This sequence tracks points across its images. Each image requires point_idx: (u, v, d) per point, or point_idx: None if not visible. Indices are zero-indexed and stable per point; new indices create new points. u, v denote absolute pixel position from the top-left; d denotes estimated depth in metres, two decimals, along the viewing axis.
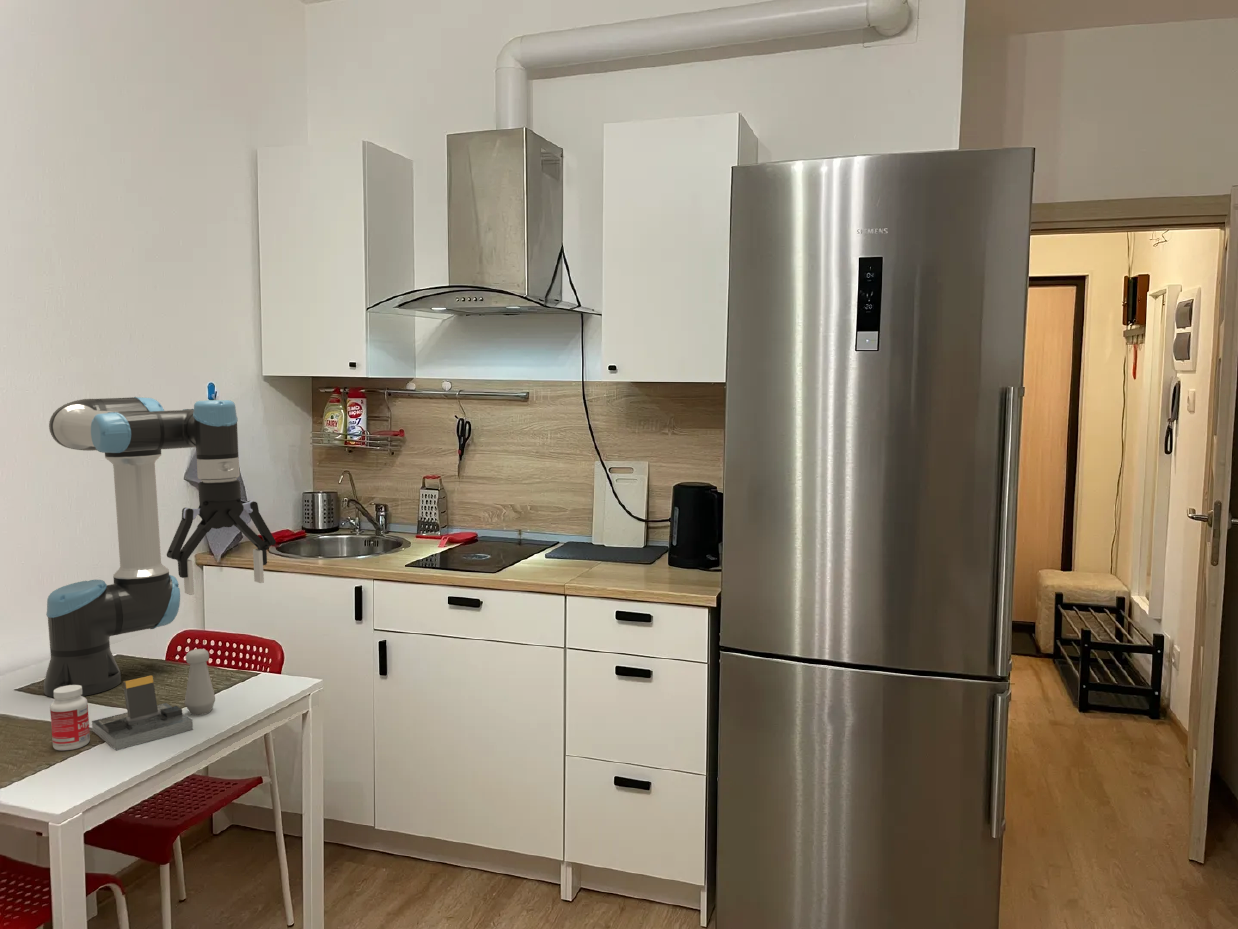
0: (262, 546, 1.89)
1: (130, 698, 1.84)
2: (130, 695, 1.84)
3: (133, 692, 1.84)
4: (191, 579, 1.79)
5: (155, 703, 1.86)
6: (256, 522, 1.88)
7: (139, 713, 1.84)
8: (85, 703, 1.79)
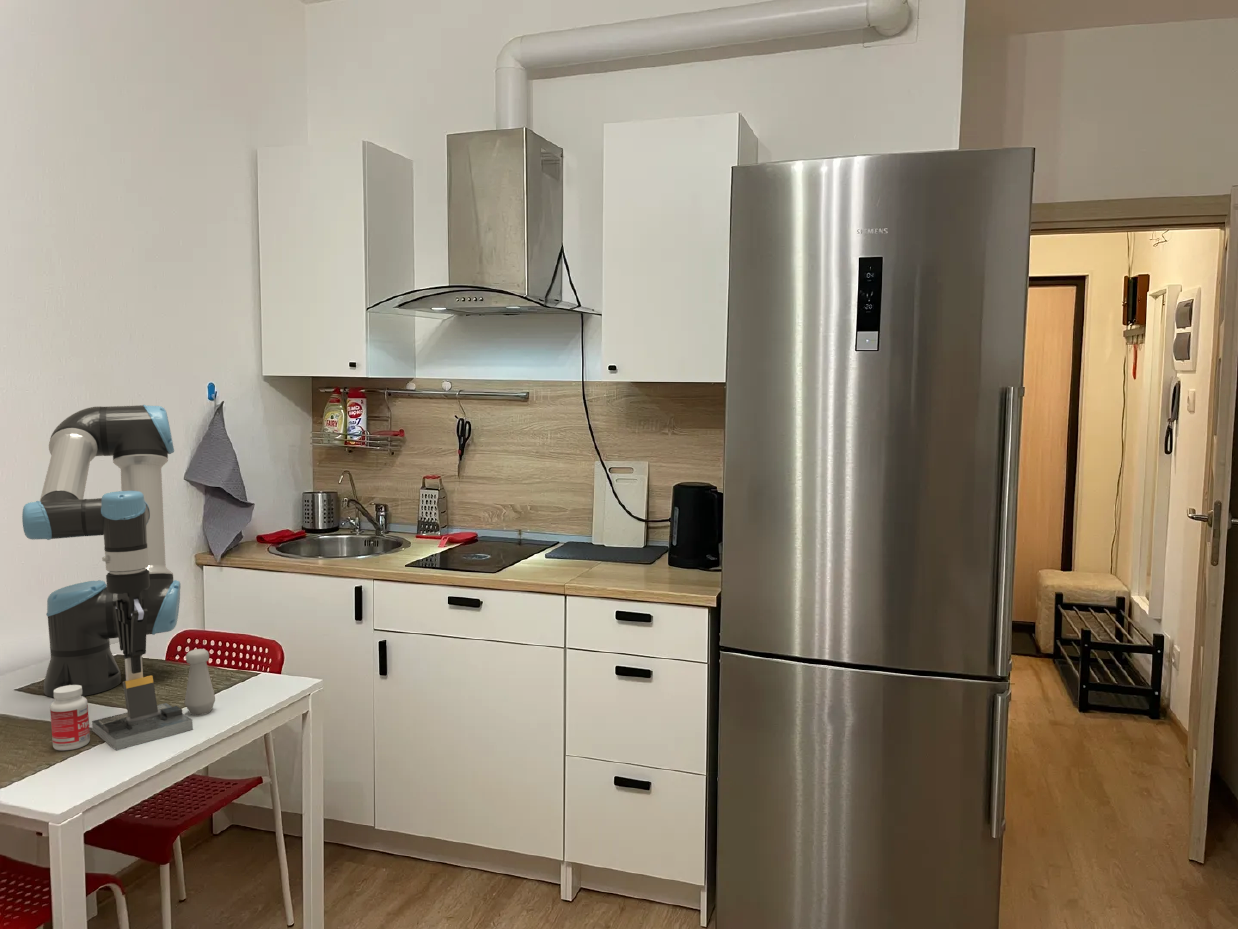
0: (127, 653, 1.85)
1: (130, 698, 1.84)
2: (130, 695, 1.84)
3: (133, 692, 1.84)
4: (126, 674, 1.86)
5: (155, 703, 1.86)
6: None
7: (139, 713, 1.84)
8: (85, 703, 1.79)
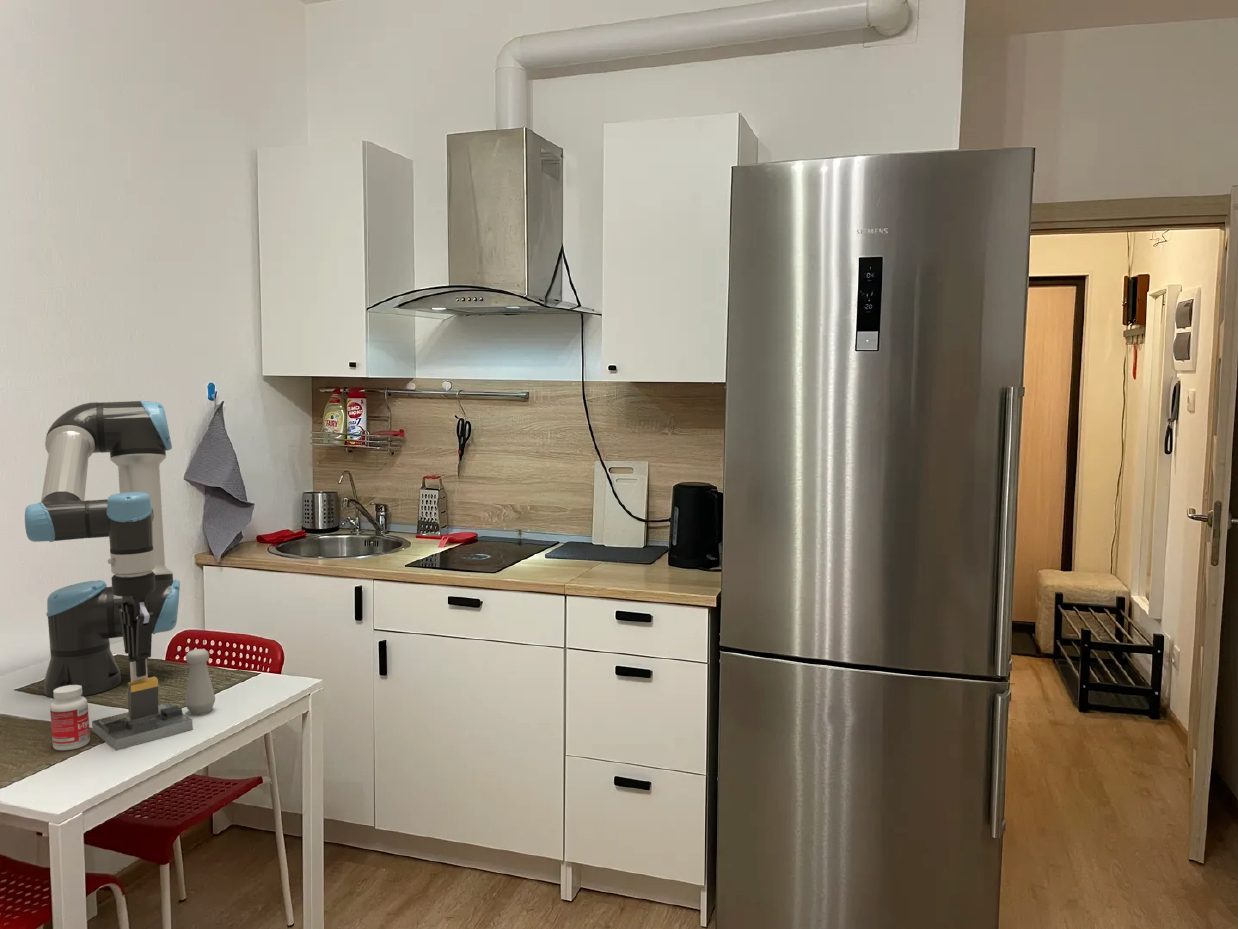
0: (132, 656, 1.83)
1: (133, 702, 1.82)
2: (134, 698, 1.82)
3: (137, 696, 1.83)
4: (131, 678, 1.84)
5: (157, 705, 1.86)
6: None
7: (140, 715, 1.84)
8: (85, 703, 1.79)
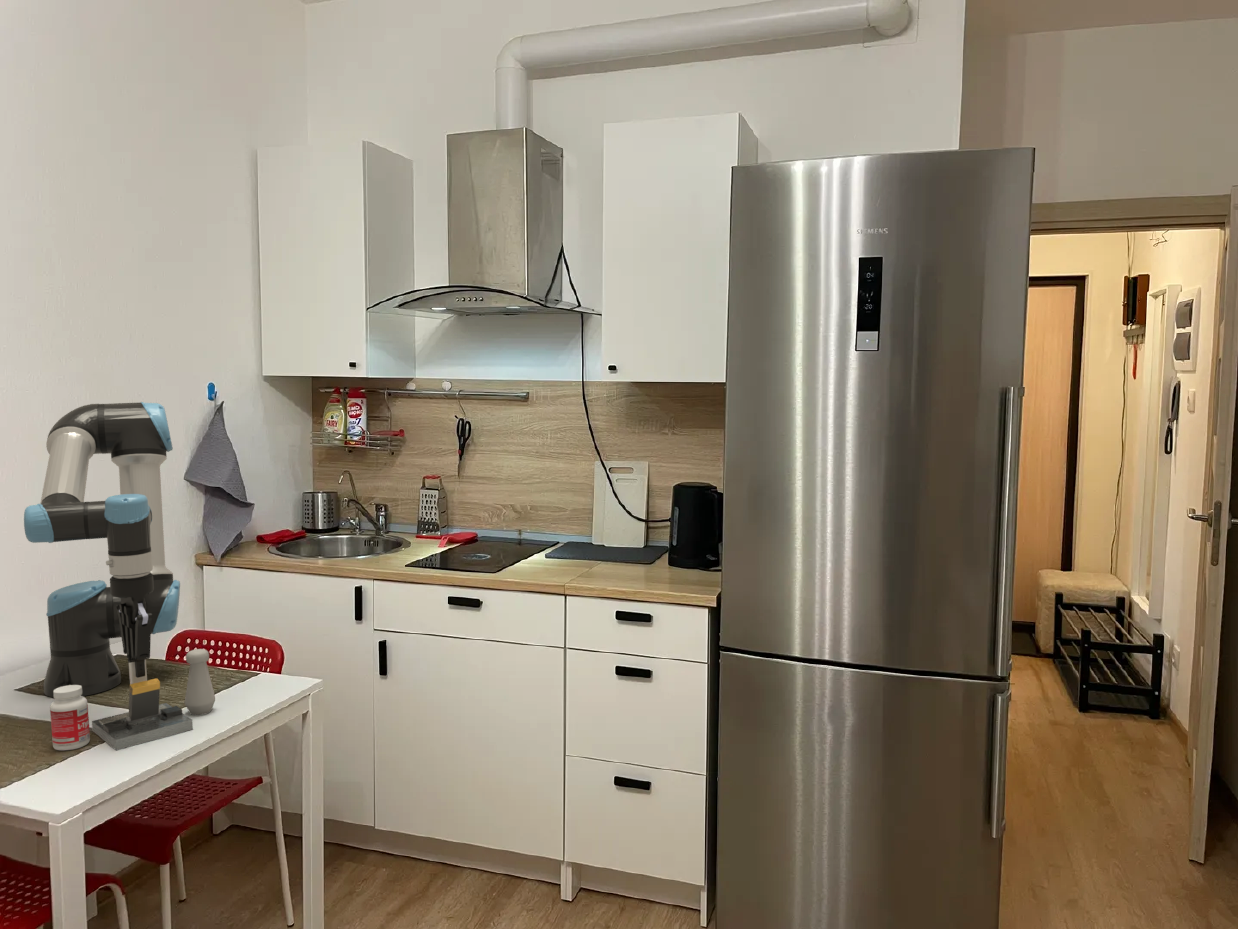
0: (132, 657, 1.84)
1: (134, 703, 1.82)
2: (135, 700, 1.82)
3: (138, 698, 1.82)
4: (130, 678, 1.85)
5: (157, 707, 1.86)
6: None
7: (140, 715, 1.84)
8: (85, 703, 1.79)
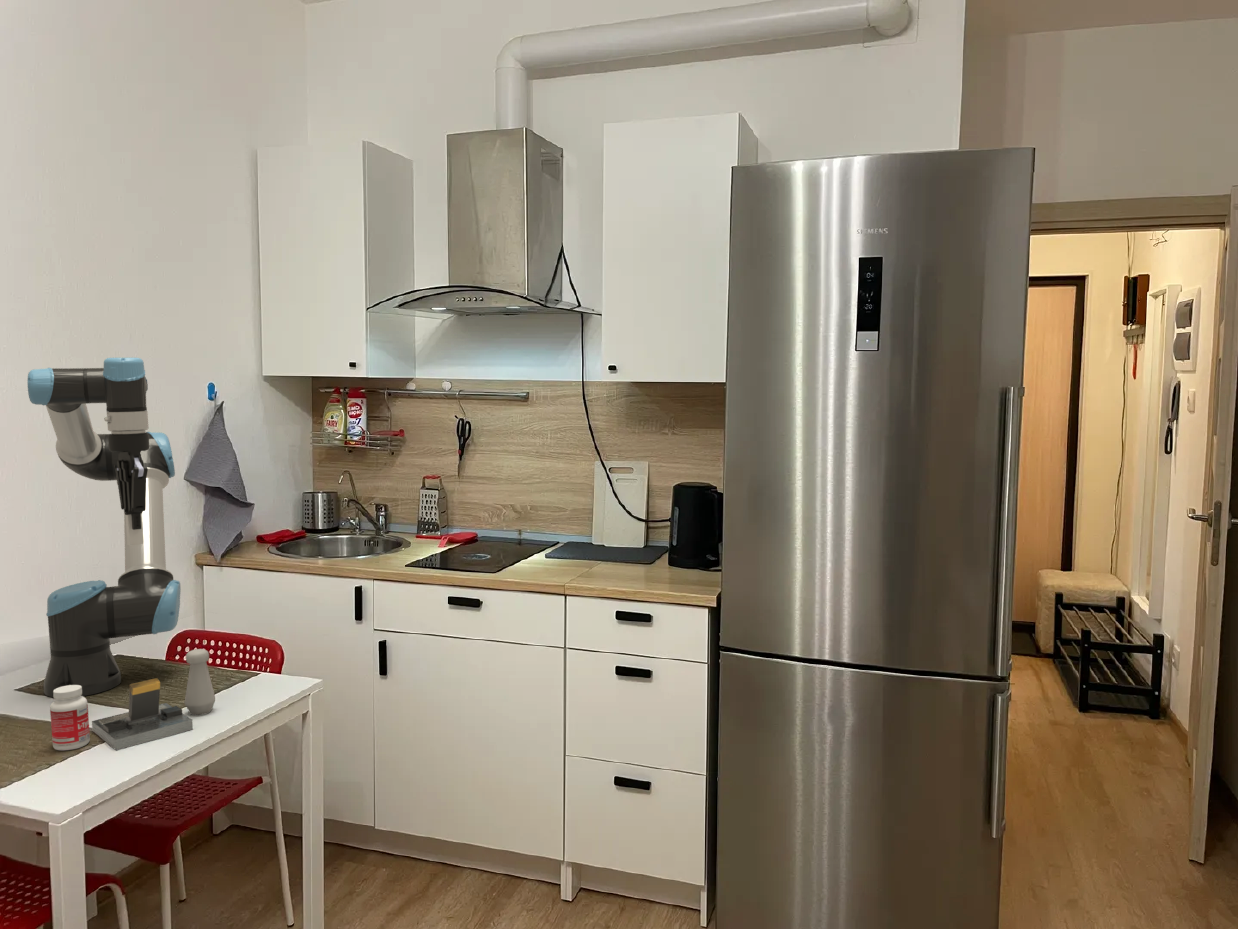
0: (128, 510, 1.96)
1: (134, 703, 1.82)
2: (135, 701, 1.82)
3: (138, 698, 1.82)
4: (127, 531, 1.97)
5: (157, 707, 1.86)
6: None
7: (140, 715, 1.84)
8: (85, 703, 1.79)
